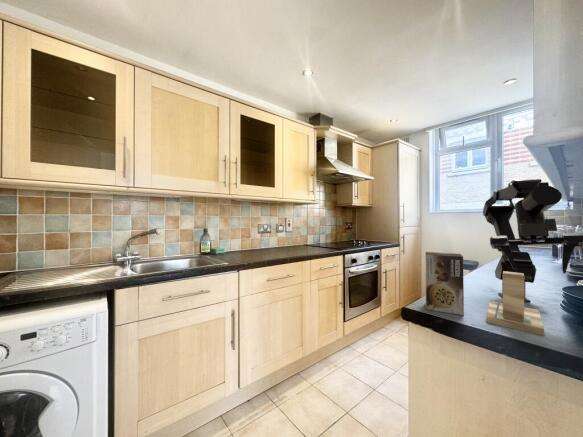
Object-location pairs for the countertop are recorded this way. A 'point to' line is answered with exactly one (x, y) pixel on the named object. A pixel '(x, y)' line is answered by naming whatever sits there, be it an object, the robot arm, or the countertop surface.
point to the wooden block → (513, 296)
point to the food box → (444, 282)
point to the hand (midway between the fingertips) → (538, 272)
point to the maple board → (529, 325)
